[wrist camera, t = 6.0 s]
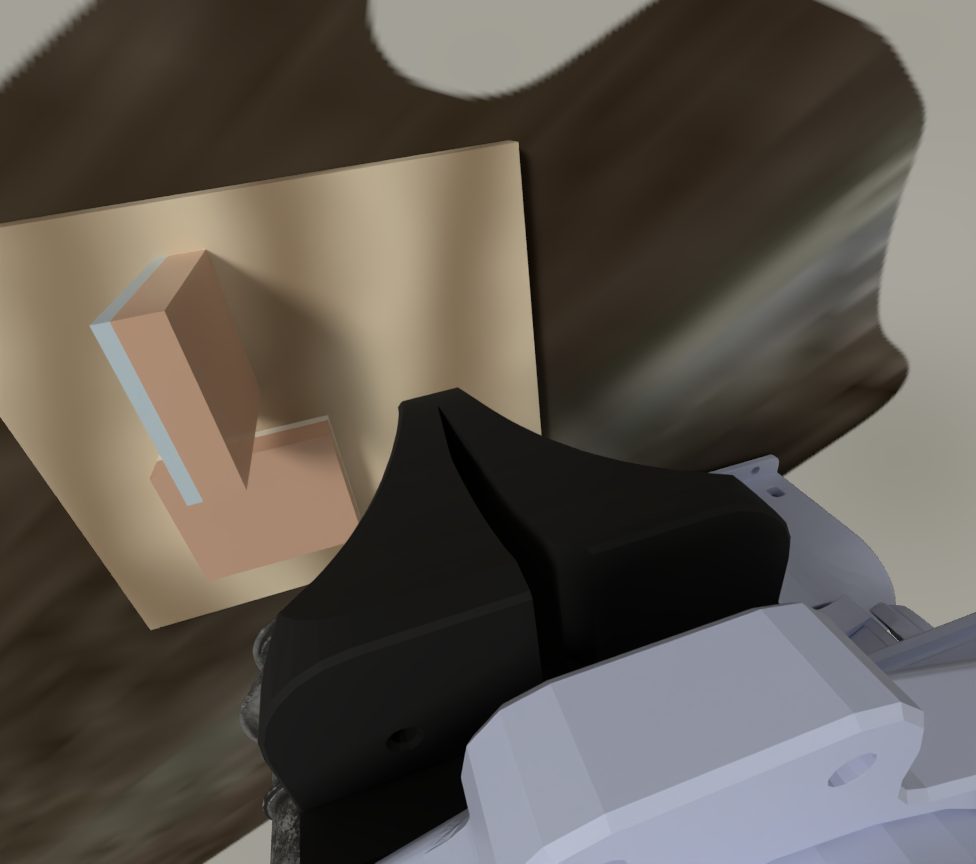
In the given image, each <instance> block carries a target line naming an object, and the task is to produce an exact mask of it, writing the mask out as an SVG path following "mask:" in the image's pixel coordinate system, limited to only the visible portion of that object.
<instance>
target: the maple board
mask: <svg viewBox="0 0 976 864" xmlns="http://www.w3.org/2000/svg"><path fill="white" fill-rule="evenodd" d="M205 249H206V251H207V254H208V256H209V259H210V261H211V264H212V267H213V269H214V272H215V274H216V277H217V279H218V282H219V285H220V287H221V290H222V292H223V295H224V297H225V300H226V302H227V305H228V308H229V310H230V313H231V315H232V318H233V320H234V323H235V325H236V328H237V331H238V333H239V336H240V338H241V341H242V343H243V346H244V349H245V351H246V354H247V356H248V359H249V361H250V364H251V366H252V369H253V372H254V374H255V377H256V379H257V382H258V384H259V387H260V389H261V399H260V405H259V412H258V419H257V425H256V432H258V431H263V430H267V429H271V428H275V427H279V426H283V425H288V424H292V423H296V422H300V421H304V420H309V419H313V418H317V417H321V416H325V415H328V417H329V420H330V423H331V426H332V429H333V432H334V435H335V438H336V441H337V444H338V447H339V451H340V454H341V457H342V460H343V463H344V466H345V469H346V472H347V475H348V478H349V481H350V485H351V488H352V491H353V494H354V497H355V500H356V503H357V506H358V509H359V512H360V516H361V518H362V517H363V515H364V514H365V512H366V510H367V508H368V507H369V505H370V503H371V501H372V499H373V497H374V495H375V493H376V491H377V489H378V486H379V484H380V482H381V480H382V477H383V474H384V472H385V469H386V466H387V463H388V461H389V458H390V455H391V452H392V448H393V444H394V440H395V436H396V431H397V425H398V417H399V411H398V406H399V405H400V403H401V402H402V401H405V400H409V399H413V398H417V397H421V396H425V395H429V394H433V393H437V392H441V391H445V390H449V389H453V388H457V387H458V388H460V389H461V390H463V391H465V392H466V393H468V394H469V395H471V396H472V397H474V398H475V399H477V400H478V401H480V402H481V403H483V404H484V405H486V406H487V407H489V408H491V409H492V410H494V411H495V412H497V413H499V414H500V415H502V416H504V417H506V418H507V419H509V420H511V421H513V422H515V423H517V424H518V425H520V426H522V427H524V428H527V429H529V430H531V431H533V432H535V433H537V434H539V435H541V423H540V410H539V398H538V385H537V372H536V360H535V347H534V334H533V322H532V309H531V296H530V284H529V271H528V258H527V246H526V233H525V220H524V208H523V195H522V182H521V170H520V157H519V144H518V142H515V141H510V140H508V141H502V142H496V143H490V144H483V145H477V146H471V147H465V148H459V149H453V150H447V151H441V152H435V153H428V154H422V155H416V156H410V157H404V158H398V159H392V160H386V161H380V162H374V163H367V164H361V165H355V166H349V167H343V168H337V169H331V170H325V171H319V172H312V173H306V174H300V175H294V176H288V177H282V178H276V179H270V180H264V181H258V182H251V183H245V184H239V185H233V186H227V187H221V188H215V189H209V190H203V191H197V192H190V193H184V194H178V195H172V196H166V197H160V198H154V199H148V200H142V201H135V202H129V203H123V204H117V205H111V206H105V207H99V208H93V209H87V210H81V211H74V212H68V213H62V214H56V215H50V216H44V217H38V218H32V219H26V220H19V221H13V222H7V223H1V224H0V417H1V418H2V420H3V421H4V423H5V424H6V425H7V427H8V428H9V430H10V431H11V433H12V434H13V435H14V437H15V438H16V440H17V441H18V442H19V444H20V445H21V447H22V448H23V450H24V451H25V452H26V454H27V455H28V457H29V458H30V459H31V461H32V462H33V464H34V465H35V467H36V468H37V469H38V471H39V472H40V474H41V475H42V477H43V478H44V479H45V481H46V482H47V484H48V485H49V486H50V488H51V489H52V491H53V492H54V494H55V495H56V496H57V498H58V499H59V501H60V502H61V503H62V505H63V506H64V508H65V509H66V511H67V512H68V513H69V515H70V516H71V518H72V519H73V521H74V522H75V523H76V525H77V526H78V528H79V529H80V530H81V532H82V533H83V535H84V536H85V538H86V539H87V540H88V542H89V543H90V545H91V546H92V547H93V549H94V550H95V552H96V553H97V555H98V556H99V557H100V559H101V560H102V562H103V563H104V565H105V566H106V567H107V569H108V570H109V572H110V573H111V574H112V576H113V577H114V579H115V580H116V582H117V583H118V584H119V586H120V587H121V589H122V590H123V591H124V593H125V594H126V596H127V597H128V599H129V600H130V601H131V603H132V604H133V606H134V607H135V609H136V610H137V611H138V613H139V614H140V616H141V617H142V618H143V620H144V621H145V623H146V624H147V626H148V627H149V628H150V630H152V629H156V628H159V627H163V626H166V625H170V624H173V623H177V622H180V621H184V620H187V619H190V618H194V617H197V616H201V615H204V614H208V613H211V612H215V611H218V610H221V609H225V608H228V607H232V606H235V605H239V604H242V603H246V602H249V601H253V600H256V599H259V598H263V597H266V596H270V595H273V594H277V593H280V592H284V591H287V590H290V589H294V588H297V587H301V586H304V585H308V584H310V583H311V582H312V581H313V580H314V579H315V578H316V577H317V576H318V575H319V574H320V573H321V572H322V571H323V570H324V568H325V567H326V566H327V565H328V564H329V563H330V562H331V560H332V559H333V558H334V557H335V555H336V554H337V553H338V552H339V550H340V549H341V548H342V547H343V546H344V544H345V543H344V544H340V545H337V546H333V547H330V548H326V549H323V550H319V551H315V552H312V553H308V554H305V555H301V556H298V557H294V558H291V559H287V560H283V561H280V562H276V563H273V564H269V565H266V566H262V567H258V568H255V569H251V570H248V571H244V572H241V573H237V574H233V575H230V576H226V577H223V578H219V579H216V580H212V581H209V582H208V580H207V579H206V577H205V575H204V573H203V572H202V570H201V568H200V566H199V565H198V563H197V561H196V560H195V558H194V556H193V554H192V553H191V551H190V549H189V547H188V546H187V544H186V542H185V540H184V539H183V537H182V535H181V533H180V532H179V530H178V528H177V526H176V525H175V523H174V521H173V519H172V518H171V516H170V514H169V512H168V511H167V509H166V507H165V505H164V504H163V502H162V500H161V498H160V497H159V495H158V493H157V491H156V490H155V488H154V486H153V485H152V483H151V481H150V476H151V474H152V471H153V469H154V467H155V464H156V462H157V459H158V457H159V453H158V451H157V449H156V447H155V446H154V444H153V442H152V440H151V438H150V436H149V435H148V433H147V431H146V429H145V427H144V425H143V423H142V422H141V420H140V418H139V416H138V414H137V412H136V411H135V409H134V407H133V405H132V403H131V401H130V400H129V398H128V396H127V394H126V392H125V390H124V389H123V387H122V385H121V383H120V381H119V379H118V378H117V376H116V374H115V372H114V370H113V368H112V366H111V365H110V363H109V361H108V359H107V357H106V355H105V354H104V352H103V350H102V348H101V346H100V344H99V343H98V341H97V339H96V337H95V335H94V333H93V332H92V330H91V328H90V326H89V325H90V324H91V323H92V322H93V321H94V320H95V319H96V318H97V317H98V316H99V315H100V314H101V313H102V312H103V311H104V310H105V309H106V308H107V307H108V306H109V305H110V304H111V303H112V302H113V301H114V300H115V298H116V297H117V296H118V295H119V294H120V293H121V292H122V291H123V290H124V289H125V288H126V287H127V286H128V285H129V284H130V283H131V282H132V281H133V280H134V279H135V278H136V277H137V276H138V275H139V274H140V273H141V271H142V270H143V269H144V268H145V267H146V266H147V265H148V264H149V263H150V262H151V261H152V260H153V259H155V258H160V257H166V256H171V255H177V254H182V253H188V252H194V251H199V250H205Z"/></svg>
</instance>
